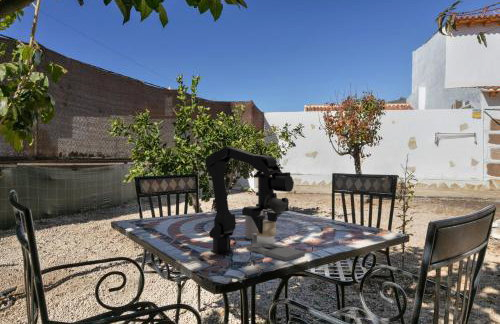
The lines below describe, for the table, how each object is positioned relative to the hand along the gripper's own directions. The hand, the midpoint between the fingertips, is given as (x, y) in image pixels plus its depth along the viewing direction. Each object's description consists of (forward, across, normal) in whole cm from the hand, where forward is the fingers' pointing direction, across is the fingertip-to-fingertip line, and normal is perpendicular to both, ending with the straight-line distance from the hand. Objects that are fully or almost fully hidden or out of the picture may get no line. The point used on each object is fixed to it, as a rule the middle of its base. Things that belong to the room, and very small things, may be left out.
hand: (266, 232), depth 132 cm
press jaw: (+9, +11, +13) cm, 19 cm away
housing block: (+1, 0, 0) cm, 1 cm away
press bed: (+11, +11, +7) cm, 17 cm away
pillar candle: (+11, +23, +31) cm, 40 cm away
